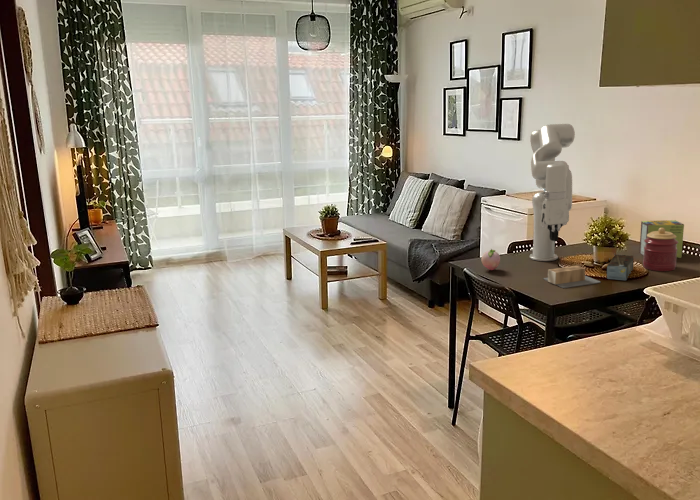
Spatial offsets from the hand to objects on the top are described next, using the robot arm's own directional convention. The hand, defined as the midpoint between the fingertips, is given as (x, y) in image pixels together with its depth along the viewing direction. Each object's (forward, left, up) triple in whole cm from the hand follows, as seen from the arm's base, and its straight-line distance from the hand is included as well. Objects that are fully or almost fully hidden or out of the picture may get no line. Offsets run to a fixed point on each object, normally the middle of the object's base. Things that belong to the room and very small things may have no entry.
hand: (553, 240), depth 237 cm
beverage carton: (0, +32, -19) cm, 37 cm away
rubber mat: (+1, +8, -18) cm, 20 cm away
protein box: (-17, +68, -18) cm, 73 cm away
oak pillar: (+1, -1, -15) cm, 15 cm away
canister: (0, +53, -18) cm, 56 cm away
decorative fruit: (-27, -13, -18) cm, 36 cm away
